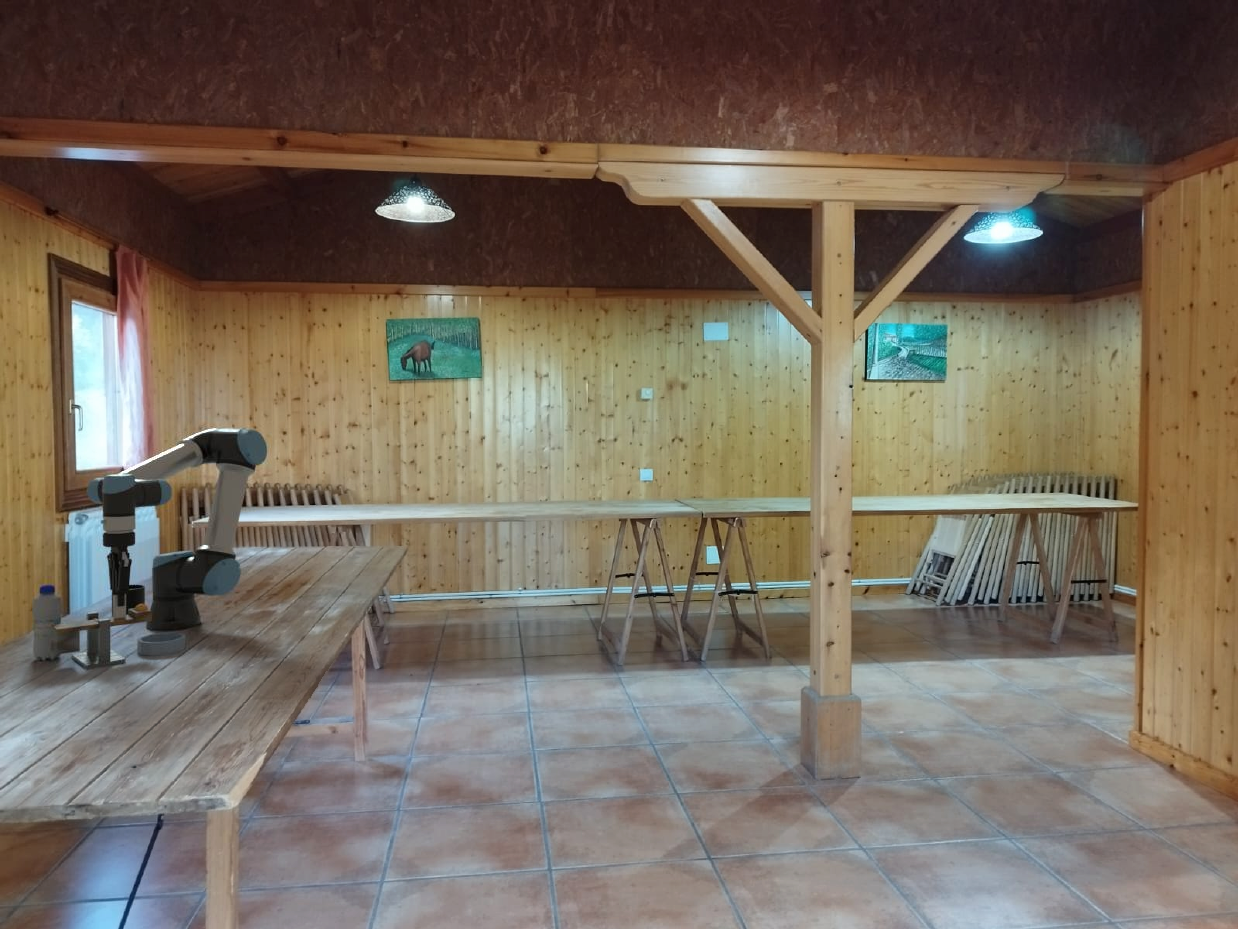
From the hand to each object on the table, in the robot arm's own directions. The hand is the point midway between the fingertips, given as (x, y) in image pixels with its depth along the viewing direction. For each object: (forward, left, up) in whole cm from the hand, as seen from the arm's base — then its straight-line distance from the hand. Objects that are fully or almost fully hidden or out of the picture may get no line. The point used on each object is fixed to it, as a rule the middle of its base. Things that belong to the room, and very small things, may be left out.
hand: (119, 617), depth 221 cm
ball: (-5, +2, +1) cm, 6 cm away
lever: (+4, -1, -7) cm, 8 cm away
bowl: (-10, +4, -11) cm, 15 cm away
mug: (-35, -45, -11) cm, 58 cm away
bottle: (+10, -15, -11) cm, 21 cm away
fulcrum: (+5, -2, -11) cm, 12 cm away
